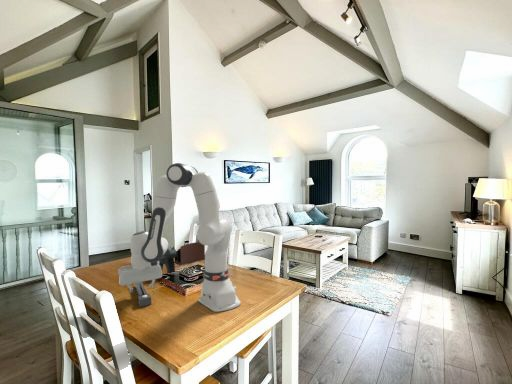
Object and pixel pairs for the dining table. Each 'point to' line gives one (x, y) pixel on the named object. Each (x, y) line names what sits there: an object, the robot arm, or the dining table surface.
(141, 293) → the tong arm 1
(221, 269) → the robot arm
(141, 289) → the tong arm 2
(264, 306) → the dining table surface
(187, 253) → the letter holder
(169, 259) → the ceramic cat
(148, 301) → the tong hinge block
